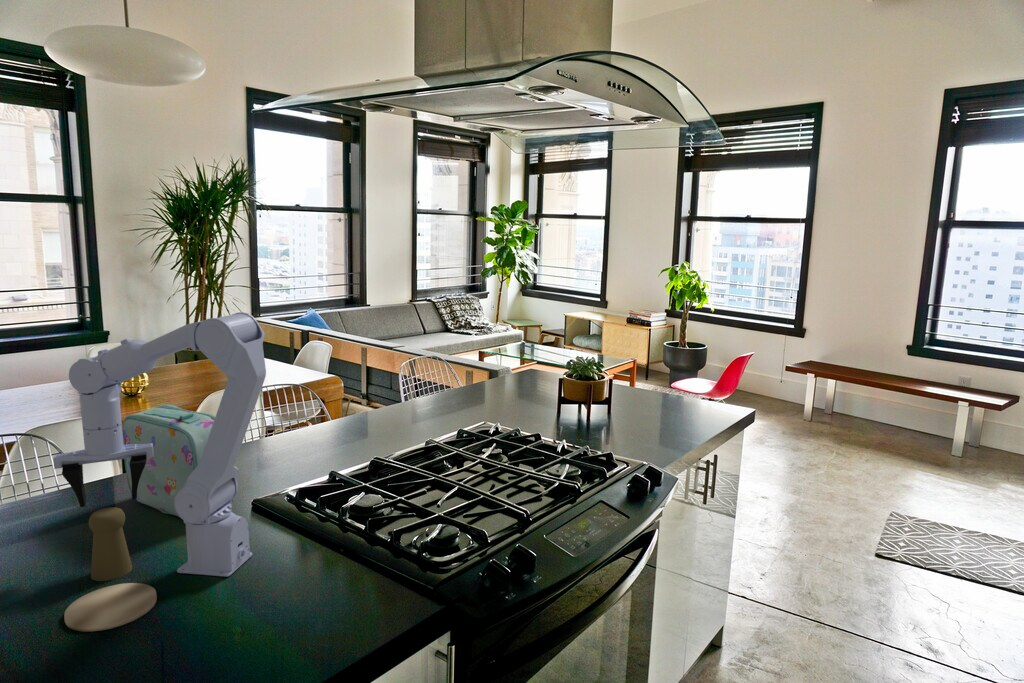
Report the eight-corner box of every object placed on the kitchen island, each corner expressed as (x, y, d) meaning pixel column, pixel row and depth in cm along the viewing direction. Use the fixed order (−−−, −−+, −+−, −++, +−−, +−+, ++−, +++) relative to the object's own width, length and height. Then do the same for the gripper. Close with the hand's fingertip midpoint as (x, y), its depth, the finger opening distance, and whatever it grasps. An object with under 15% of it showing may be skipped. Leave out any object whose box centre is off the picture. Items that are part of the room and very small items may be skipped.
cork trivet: (173, 590, 106) (173, 586, 105) (120, 634, 94) (119, 629, 94) (105, 584, 107) (104, 580, 107) (44, 627, 95) (43, 622, 95)
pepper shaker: (124, 559, 115) (118, 500, 114) (138, 571, 112) (133, 509, 110) (85, 573, 111) (79, 511, 109) (98, 585, 107) (92, 521, 105)
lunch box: (246, 511, 136) (241, 410, 133) (202, 530, 127) (195, 423, 124) (167, 486, 149) (160, 394, 146) (121, 502, 140) (113, 404, 137)
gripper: (151, 415, 120) (156, 486, 122) (55, 424, 113) (62, 500, 115) (150, 424, 113) (156, 499, 115) (48, 435, 107) (56, 515, 109)
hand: (109, 501), depth 115 cm, fingers open, 7 cm apart
